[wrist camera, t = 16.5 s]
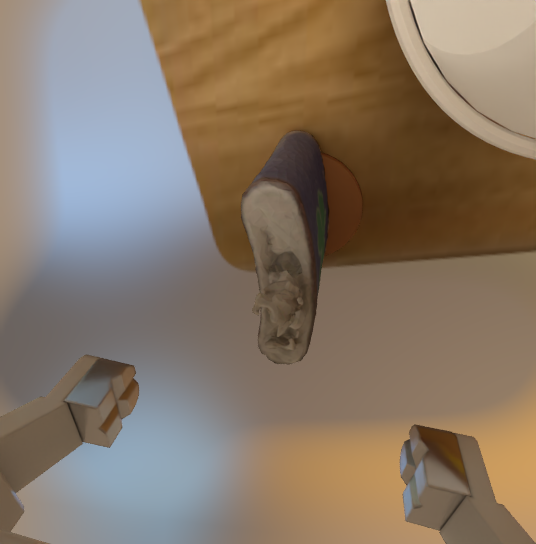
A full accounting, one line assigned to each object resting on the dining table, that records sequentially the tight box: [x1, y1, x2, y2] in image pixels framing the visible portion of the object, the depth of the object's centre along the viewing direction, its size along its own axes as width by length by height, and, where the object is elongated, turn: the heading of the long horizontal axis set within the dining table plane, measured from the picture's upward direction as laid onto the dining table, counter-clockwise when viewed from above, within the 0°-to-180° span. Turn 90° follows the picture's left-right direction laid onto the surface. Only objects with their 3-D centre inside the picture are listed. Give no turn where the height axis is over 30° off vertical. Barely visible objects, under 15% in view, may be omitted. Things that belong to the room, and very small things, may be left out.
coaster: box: [321, 153, 363, 256], centre depth 22 cm, size 7×7×1 cm
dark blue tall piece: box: [241, 131, 330, 364], centre depth 18 cm, size 9×3×11 cm, turn 5°
